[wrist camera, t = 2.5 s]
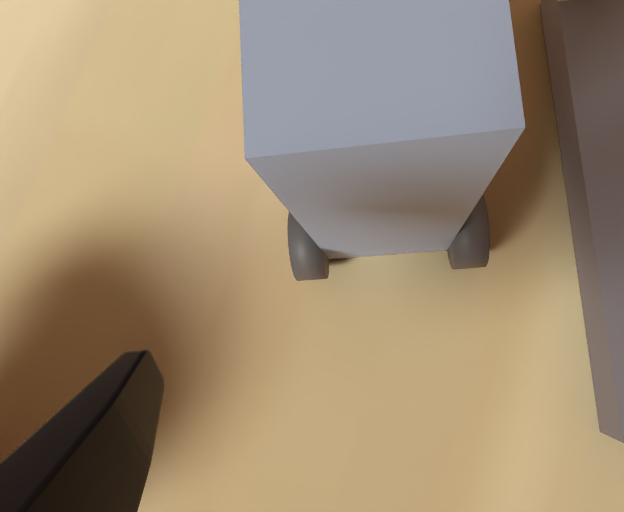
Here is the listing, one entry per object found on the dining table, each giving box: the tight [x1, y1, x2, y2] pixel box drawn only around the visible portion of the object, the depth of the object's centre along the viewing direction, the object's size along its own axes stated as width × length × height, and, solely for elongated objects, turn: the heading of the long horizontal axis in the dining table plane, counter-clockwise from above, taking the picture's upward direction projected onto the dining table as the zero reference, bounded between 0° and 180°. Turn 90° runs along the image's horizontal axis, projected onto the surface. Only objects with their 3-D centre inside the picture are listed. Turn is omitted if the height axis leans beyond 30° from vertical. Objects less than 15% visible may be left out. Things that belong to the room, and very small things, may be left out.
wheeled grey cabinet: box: [239, 0, 525, 281], centre depth 16 cm, size 8×7×13 cm
